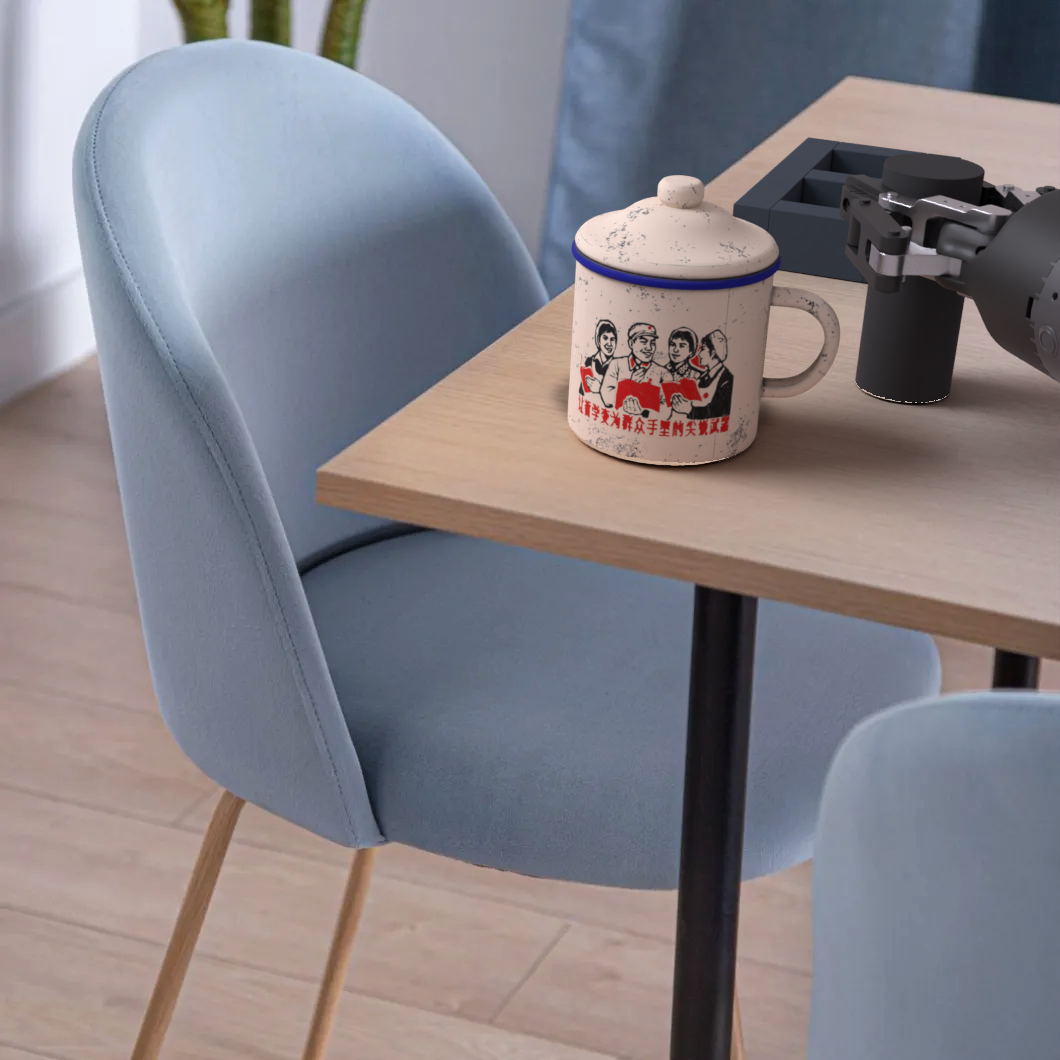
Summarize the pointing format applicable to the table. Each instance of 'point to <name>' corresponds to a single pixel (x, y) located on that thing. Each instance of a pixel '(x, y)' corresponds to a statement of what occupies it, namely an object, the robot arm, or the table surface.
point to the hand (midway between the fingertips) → (898, 192)
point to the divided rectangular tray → (812, 204)
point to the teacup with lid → (679, 328)
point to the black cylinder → (916, 296)
